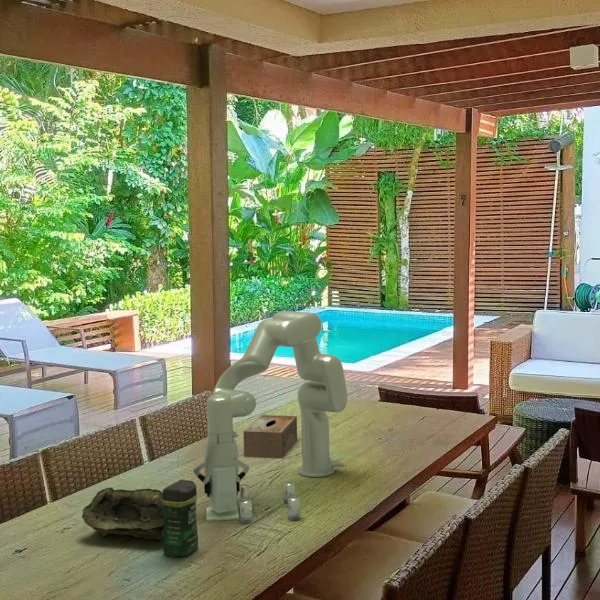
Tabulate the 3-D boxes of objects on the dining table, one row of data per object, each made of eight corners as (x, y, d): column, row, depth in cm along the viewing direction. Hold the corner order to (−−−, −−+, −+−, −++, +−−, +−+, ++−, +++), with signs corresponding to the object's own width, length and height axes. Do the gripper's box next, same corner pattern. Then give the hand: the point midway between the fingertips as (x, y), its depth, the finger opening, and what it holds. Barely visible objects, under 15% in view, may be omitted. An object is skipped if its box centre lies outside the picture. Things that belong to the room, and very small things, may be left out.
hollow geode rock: (179, 558, 224) (197, 508, 233) (161, 540, 215) (181, 487, 223) (94, 542, 235) (114, 494, 243) (73, 524, 225) (95, 474, 234)
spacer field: (294, 500, 256) (294, 481, 255) (300, 520, 238) (300, 500, 238) (238, 503, 254) (237, 484, 253) (240, 523, 236) (239, 503, 236)
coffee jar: (186, 560, 212) (183, 490, 210) (159, 556, 214) (156, 487, 213) (203, 546, 221) (201, 478, 219) (177, 542, 223) (175, 476, 222)
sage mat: (238, 507, 250) (237, 505, 250) (239, 519, 240) (239, 517, 240) (206, 509, 249) (206, 507, 249) (206, 521, 239) (206, 519, 239)
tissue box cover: (262, 439, 329) (261, 415, 328) (297, 440, 326) (296, 416, 325) (244, 457, 304) (243, 431, 303) (281, 459, 301) (281, 432, 300)
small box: (237, 510, 242) (236, 467, 241) (217, 513, 239) (215, 470, 238) (227, 501, 249) (226, 460, 248) (208, 505, 247) (206, 463, 245)
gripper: (249, 432, 247) (250, 489, 249) (191, 435, 245) (193, 492, 247) (250, 438, 240) (252, 497, 241) (190, 441, 238) (192, 500, 239)
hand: (222, 494), depth 244 cm, fingers closed on small box, 7 cm apart
